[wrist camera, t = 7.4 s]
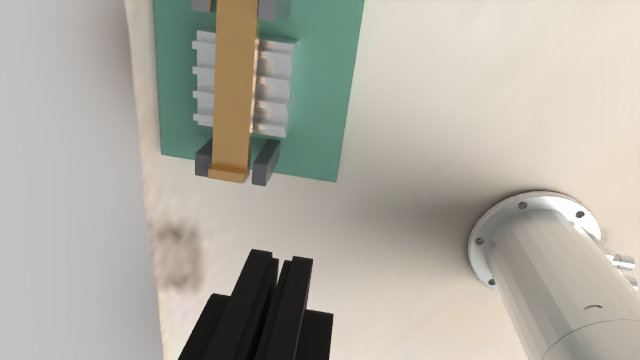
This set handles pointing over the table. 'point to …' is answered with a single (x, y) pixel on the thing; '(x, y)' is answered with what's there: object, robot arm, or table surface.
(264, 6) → the heat sink
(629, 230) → the table surface
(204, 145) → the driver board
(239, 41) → the strap
